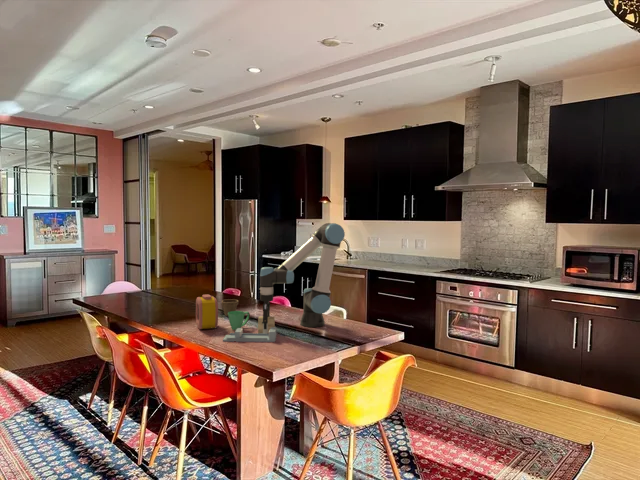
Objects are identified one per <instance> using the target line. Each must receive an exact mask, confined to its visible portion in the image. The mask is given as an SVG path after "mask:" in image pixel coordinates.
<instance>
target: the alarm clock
mask: <svg viewBox="0 0 640 480" xmlns="http://www.w3.org/2000/svg"><path fill="white" fill-rule="evenodd" d="M218 303H219V302H218V300H217V298H216V297H214V296H213V295H210V294H202V296H198V297H196V299H195V323H196V326H197V328H198V329H199V330H207V329H216V328H218V327H217V326H218V324H219V304H218Z"/></svg>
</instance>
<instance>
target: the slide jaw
mask: <svg viewBox="0 0 640 480" xmlns="http://www.w3.org/2000/svg"><path fill="white" fill-rule="evenodd" d="M243 331H244V330H243V327H241V328H237V330H234V333H235V338H240V337H241V336H242V334H243V333H244V332H243Z"/></svg>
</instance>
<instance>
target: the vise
mask: <svg viewBox="0 0 640 480" xmlns="http://www.w3.org/2000/svg"><path fill="white" fill-rule="evenodd" d="M276 340H277V327H276V326H274V327H271V329H270V330H269V333H258V332H247V333H245V332H243V334H242V336H241V337H240V338H235V332H229V334H225V336H224V338H223V339H222V342H234V341H236V342H237V343H238V342H250V343H252V342H255V343H259V342H260V343H261V342H262V343H270V342H271V343H275V342H276Z"/></svg>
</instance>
